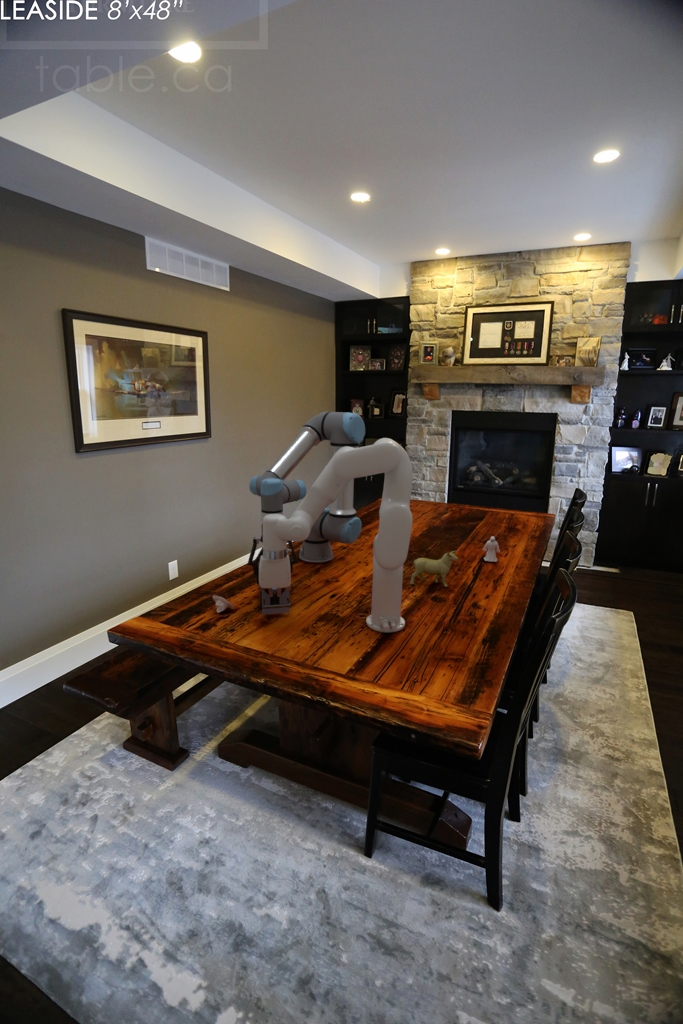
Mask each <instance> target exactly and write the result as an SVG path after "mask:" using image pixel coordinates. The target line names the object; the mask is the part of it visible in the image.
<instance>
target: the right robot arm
mask: <svg viewBox="0 0 683 1024" xmlns="http://www.w3.org/2000/svg"><path fill="white" fill-rule="evenodd" d="M413 471H414V470H413V464H412V461H411V458H410V456H409V454H408V452H407V451H406V450H405V448H403V446H401V444H399V443H398V442H397V441H396V440H393V439H392V438H390V437H389V438H388V437H382V438H379V439H377V440H376V441H375V442H374V443H373V444H370V445H365V446H359V447H358V448H353V447H349V446H345V447H342V448H340V449H339V450H338V451H337V452H336V453H335V454H334V453H333V456H332V457H331V458H330V460H329V461H328V463H327V464H326V465H325V467H324V468H323V469H322V471H321V473H319V475H318V477H317V478H316V479H315V481H314V482H313V483H312V484H311V487H310V489H309V490H308V492H307V493H306V495H305V497H304V498H303V499H302V501H301V502H300V503H299V504H298V506H297V507H296V509H295V510H294V512H293V513H292V514H291V517H289V518H287V517H286V516H285V515H284V514H283V515H281V514H269V515H266V516H264V518H263V543H262V547H263V555H262V556H261V557H260V561H259V563H258V565H259V584H258V587H257V590H258V592H259V591H265V592H266V593H267V594H268V595H269V596H270V604H280V596H281V594H282V593H283V592H284V591H287V590H289V591H290V590H292V585H291V584H292V573H291V570H290V560H289V557H290V555H289V554H292V553H291V549H290V548H288V543H287V540H290V541H292V542H296V543H301V542H303V541H304V540H306V539H307V538H308V536H309V534H310V531H311V528H312V526H313V524H314V523H315V522H316V520H317V519H318V517H319V516H320V515H321V513H322V512H323V511H324V510H325V508H326V507H329V506H330V505H332V504H333V502H334V501H335V500H336V499H337V498H338V497H339V495H340V494H341V492H342V491H343V490H344V488H345V487H346V486H347V484H348V483H349V481H350V480H351V479H352V478H354V479H358V478H363V477H369V476H375V475H378V474H384V478H383V479H384V481H383V489H382V496H381V501H380V507H379V510H378V516H379V523H378V531H377V534H376V535H375V536H374V539H373V544H372V545H373V546H372V585H371V586H372V587H371V607H370V609H371V613H370V615H368V616H367V617H366V621H365V622H366V623H365V624H366V625H367V627H368V628H369V629H372V630H373V631H376V632H379V633H396V632H398V631H402V630H403V629H404V628H405V626H406V620H405V618H403V617H402V615H401V614H402V599H403V598H402V597H403V580H404V564H405V562H406V560H407V558H408V553H409V549H410V541H411V536H412V529H413V514H412V510H411V507H410V505H411V497H412V489H413V478H414V472H413ZM288 555H289V556H288ZM272 588H277V591H276V593H275V595H274V592H273V590H272Z"/></svg>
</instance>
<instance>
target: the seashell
mask: <svg viewBox="0 0 683 1024" xmlns="http://www.w3.org/2000/svg"><path fill="white" fill-rule="evenodd" d="M212 599H213V601H214V602H215V604H214V605H215V608H216V610H215V611H216V613H217V614H219V613H222V612H224V611H225V610H226V609H227V608H229V609H233V610H234V609H235V606H234V604H233V603H231V602H230V601H229V600H227V599H226V598H224V597H223V596H219V595H216V594H215V595H214V594H213V595H212Z"/></svg>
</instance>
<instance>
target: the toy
mask: <svg viewBox="0 0 683 1024" xmlns="http://www.w3.org/2000/svg"><path fill="white" fill-rule="evenodd" d="M457 552H458V550H452V551H450V552H446V553H444V555H443V556H442V557H441V558H440V559H431V558H427V557H418V558H417V559H416V558H415V559H414V560H413V568H414V572H412V574H411V578H410V581H409V584H410V585H411V586H415V584H416V583H415V582H414V581H415V578H416V577H417V576H418V577H420V579H421V580H422V582H426V578H425V576H424V575H423V574H426V575H428V576H435V578H434V583H435V584H439V581H438V580H439V578H441V581H442V585H443V587H444V588H446V589H447V588H449V585H448V584H447V582H446V580H447V579H446V577H447V575H448V574H449V572H450V570H451V567H452V563H453V561H454V562H458V561H459V557H458V556H457V555H455V554H456V553H457Z"/></svg>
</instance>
